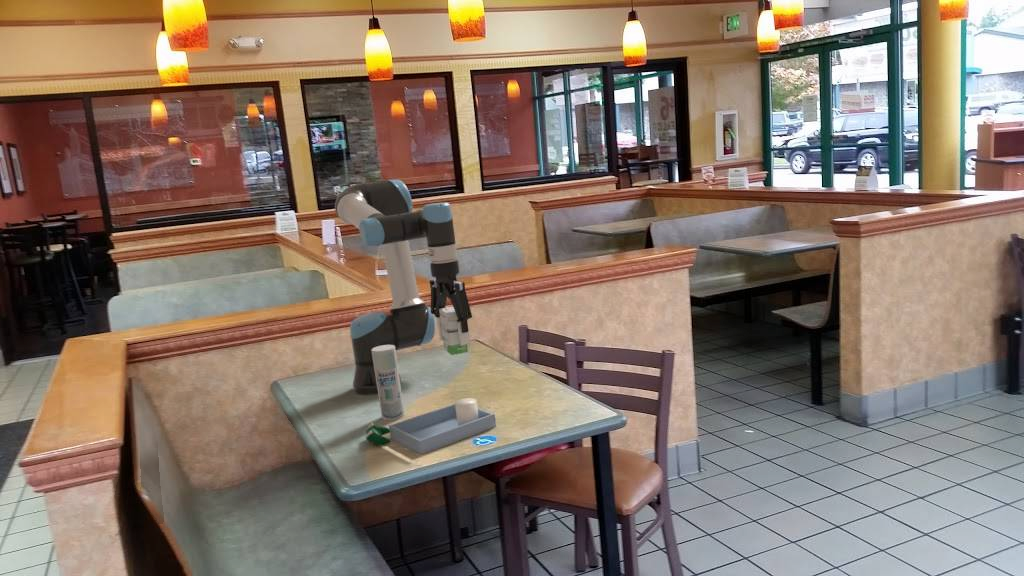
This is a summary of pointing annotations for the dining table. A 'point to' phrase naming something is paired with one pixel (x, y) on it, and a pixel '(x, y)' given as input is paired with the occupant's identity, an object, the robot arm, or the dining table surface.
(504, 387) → the dining table surface
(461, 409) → the white smooth rounded part
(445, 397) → the dining table surface
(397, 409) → the spray can
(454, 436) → the tote
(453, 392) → the dining table surface
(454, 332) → the ink box
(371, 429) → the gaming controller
